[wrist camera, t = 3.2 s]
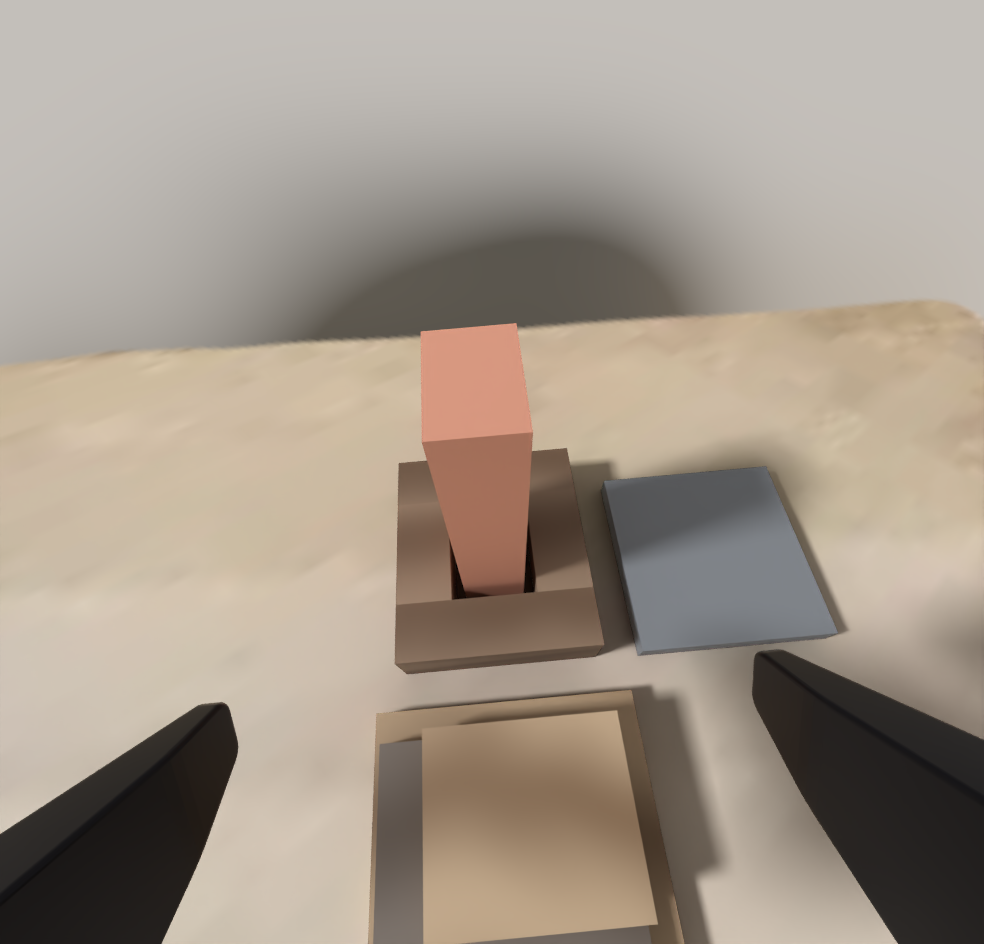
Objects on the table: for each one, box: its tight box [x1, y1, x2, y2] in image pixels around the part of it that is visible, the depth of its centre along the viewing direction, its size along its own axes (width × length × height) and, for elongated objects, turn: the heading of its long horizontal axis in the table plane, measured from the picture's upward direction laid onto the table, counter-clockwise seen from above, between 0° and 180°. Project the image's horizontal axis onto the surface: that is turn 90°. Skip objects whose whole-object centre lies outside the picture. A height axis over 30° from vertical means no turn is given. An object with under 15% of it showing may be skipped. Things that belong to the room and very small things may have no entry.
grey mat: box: [601, 466, 838, 656], centre depth 22 cm, size 8×8×1 cm
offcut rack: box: [368, 448, 684, 944], centre depth 19 cm, size 19×10×3 cm, turn 5°
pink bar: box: [421, 323, 533, 598], centre depth 17 cm, size 4×2×13 cm
